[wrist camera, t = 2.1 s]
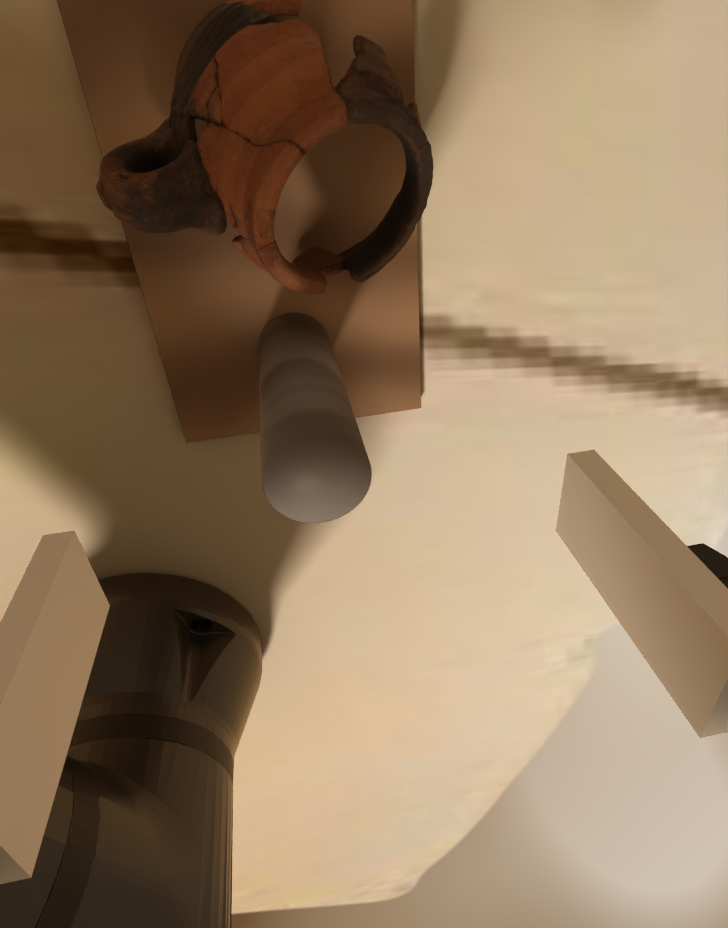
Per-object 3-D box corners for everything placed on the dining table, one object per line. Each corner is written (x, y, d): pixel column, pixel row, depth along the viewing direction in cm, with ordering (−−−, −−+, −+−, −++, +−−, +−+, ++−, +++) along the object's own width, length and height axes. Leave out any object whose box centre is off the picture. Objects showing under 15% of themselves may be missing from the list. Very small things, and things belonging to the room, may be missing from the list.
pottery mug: (341, -63, 21) (467, 23, 17) (357, 178, 29) (444, 272, 25) (15, 29, 18) (77, 153, 14) (133, 263, 26) (192, 382, 23)
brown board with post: (418, 403, 32) (499, 548, 22) (187, 437, 31) (154, 609, 20) (407, -38, 22) (555, -171, 11) (56, -14, 20) (-151, -139, 10)
